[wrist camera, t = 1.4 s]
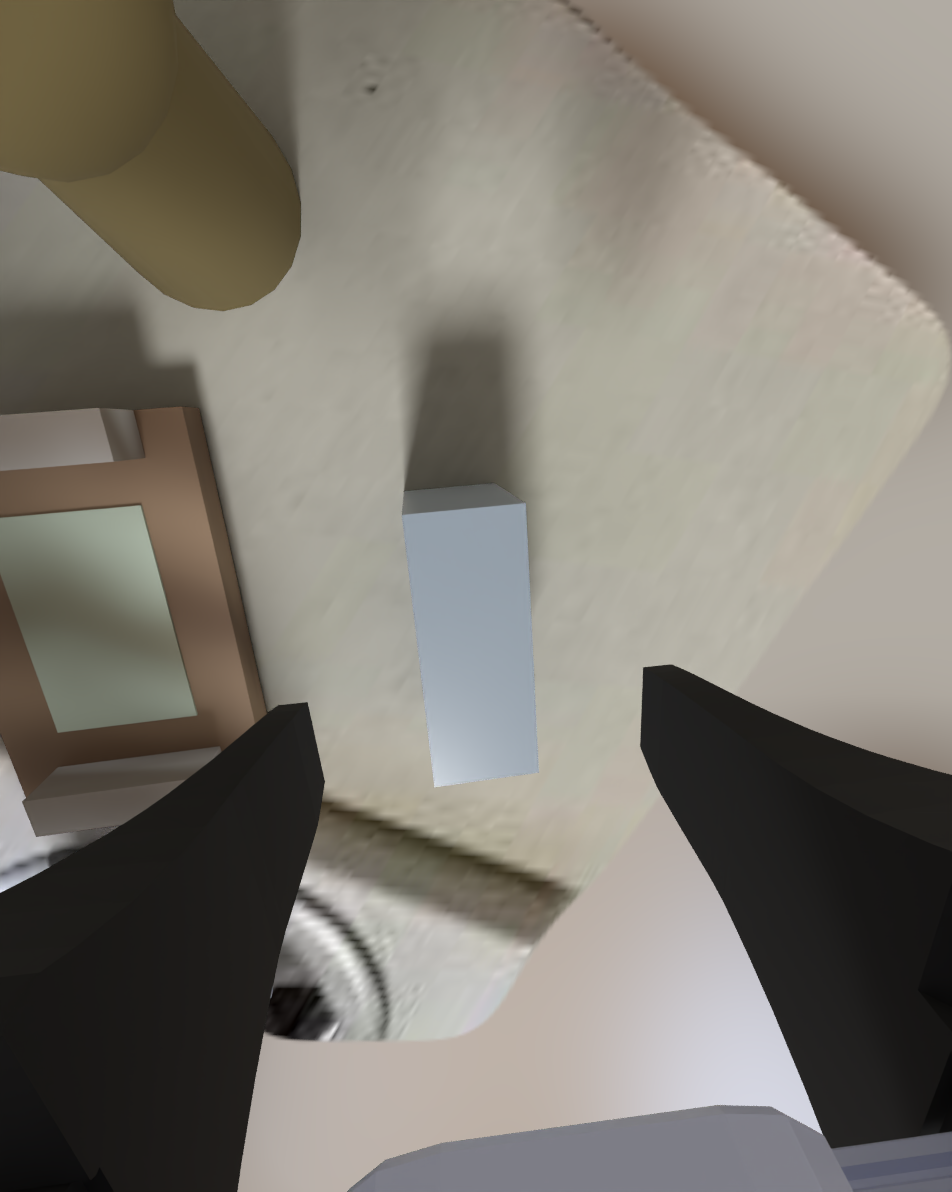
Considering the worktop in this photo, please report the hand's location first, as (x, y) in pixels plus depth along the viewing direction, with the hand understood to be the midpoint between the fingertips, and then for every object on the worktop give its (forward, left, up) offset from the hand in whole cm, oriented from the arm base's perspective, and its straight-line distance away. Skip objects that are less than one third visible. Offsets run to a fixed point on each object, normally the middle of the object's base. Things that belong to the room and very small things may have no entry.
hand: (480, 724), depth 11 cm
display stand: (0, +13, -11) cm, 17 cm away
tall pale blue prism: (-1, 0, -11) cm, 11 cm away
